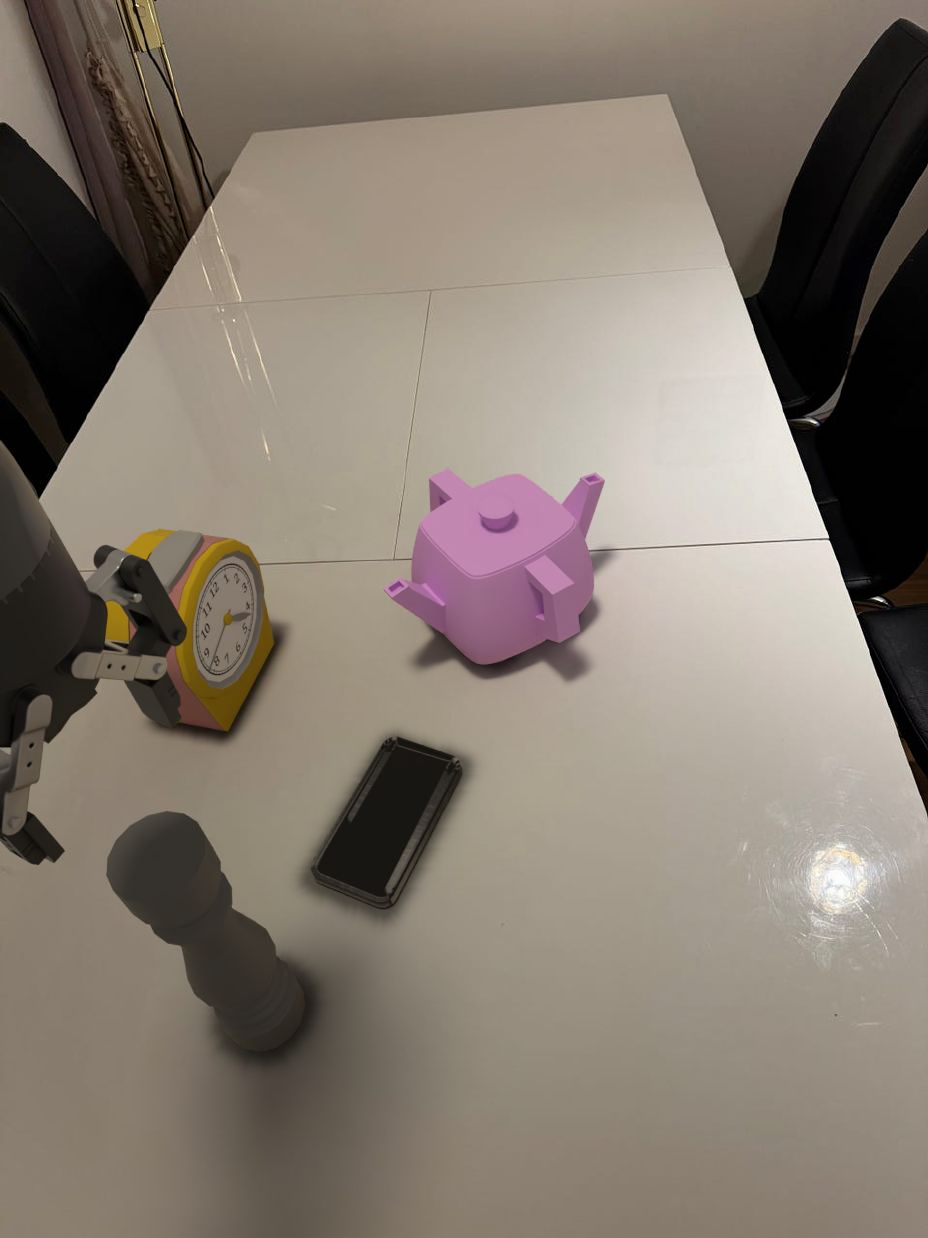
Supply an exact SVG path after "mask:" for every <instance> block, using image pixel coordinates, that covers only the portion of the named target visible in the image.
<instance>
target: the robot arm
mask: <svg viewBox="0 0 928 1238" xmlns="http://www.w3.org/2000/svg"><path fill="white" fill-rule="evenodd" d="M92 561H93V565H94V567H95V568H96V569H95V571H94V572H93V573H92V574H91V575H90V576H89V577H88V578H87V580H85V579H84V578H83V576H82V574H81V572H80V570H79V569H78V566H77V565H76V564H75V561H74V560H73V557H72V556H71V555H70V552H69V551H68V549H67V547H66V546H65V544H64V542H63V540H62V538H61V537H60V535H59V534H58V532H57V530H56V528H55V526H54V525H53V523H52V521H51V519H50V517H49V516H48V514H47V513H46V510H45V508H44V507H43V506H42V504H41V502H40V500H39V496H38V494H37V489H36V488H35V487H34V485H33V483H32V482H31V481H30V480H29V478H28V477H27V476H26V475H25V474H24V472H23V470H22V469H21V467H20V465H19V464H18V462H17V461H16V459H15V457H14V456H13V455H12V453H11V452H10V450H9V449H8V448H7V447H6V445H5V444H4V442H2V440H1V439H0V843H1V844H2V845H3V846H4V847H5V848H6V849H7V850H8V851H9V852H10V853H12V854H13V855H15V856H16V857H18V858H20V859H22V860H24V861H25V862H27V863H29V864H31V865H36V866H40V864H42V862H43V861H45V860H47V861H48V862H50V863H52V864H55V863H57V861H58V860H59V859H60V858H61V856H62V855H63V854H64V853H65V852H66V850H65V848H64V847H63V846H62V845H61V844H60V843H59V842H58V840H57V839H56V838H55V837H54V836H53V835H52V833H51V832H50V831H49V830H48V829H47V827H46V826H45V825H44V824H43V823H42V822H41V820H40V819H39V818H38V817H37V816H36V814H34V813H32V812H31V811H29V810H28V808H29V801H30V800H29V799H30V791H31V786H32V785H34V784H37V783H38V782H39V781H40V777H41V771H42V770H41V769H42V760H43V752H44V743H45V744H48V745H49V744H50V743H51V742H52V741H53V740H54V739H55V738H56V737H57V736H58V735H59V734H60V732H62V730H63V729H64V727H65V726H66V724H67V723H68V721H70V719H71V717H72V716H73V715H74V714H75V713H77V712H78V711H80V710H82V709H83V708H84V707H86V706H87V705H88V704H89V703H90V702H91V701H92V700H93V699H94V698H95V697H96V695H98V692H97V690H96V688H97V687H98V685H99V682H100V680H102V679H103V680H113V681H114V680H115V681H123V682H124V684H125V686H126V687H127V689H128V690H129V692H130V694H131V696H132V697H133V699H134V701H135V702H136V704H137V706H138V708H139V710H140V711H141V713H142V714H143V715H144V716H145V717H147V718H148V719H150V720H151V721H153V722H156V723H158V724H160V725H162V726H164V727H166V728H169V729H174V727H175V726H176V725H177V724H178V723H180V722H179V721H180V719H181V718H182V717H181V715H180V713H179V711H178V708H179V707H180V705H181V698H180V695H179V693H178V691H177V690H176V687H175V686H174V683H173V682H172V680H171V678H170V676H169V674H168V672H167V668H168V661H167V659H166V655H167V653H168V651H169V650H170V648H171V646H179V645H180V644H182V642H183V641H184V640H185V638H186V635H187V627H186V625H185V624H184V622H183V620H182V618H181V617H180V615H179V613H178V611H177V610H176V608H175V606H174V604H173V603H172V601H171V599H170V597H169V595H168V594H167V592H166V590H165V588H164V587H163V585H162V583H161V581H160V580H159V578H158V576H157V574H156V573H155V571H154V569H153V567H152V566H151V564H150V562H149V561H148V560H146V559H143V558H140V557H138V556H135V555H133V554H130V553H127V552H125V551H124V550H122V549H119V548H117V547H114V546H111V545H109V544H103V545H101V546H99V547H98V548H97V549H96V550H95V552H94V554H93V560H92ZM108 601H112V602H115V603H117V604H120V606H121V607H122V609H123V610H124V612H125V614H126V615H127V617H128V618H129V620H130V621H131V623H132V624H133V626H134V628H135V629H136V630H137V631H136V632H135V634H134V636H133V637H132V639H131V641H130V642H126V641H119V640H112V639H105V637H106V628H107V619H108V609H107V606H106V603H107V602H108ZM2 749H10V753H8V752H6V751H4V750H2Z"/></svg>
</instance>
